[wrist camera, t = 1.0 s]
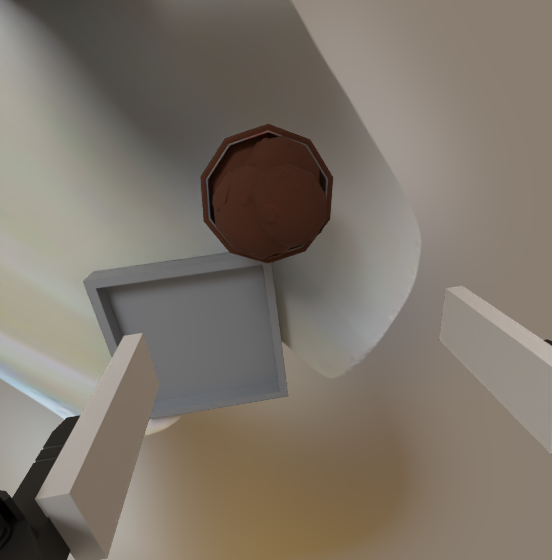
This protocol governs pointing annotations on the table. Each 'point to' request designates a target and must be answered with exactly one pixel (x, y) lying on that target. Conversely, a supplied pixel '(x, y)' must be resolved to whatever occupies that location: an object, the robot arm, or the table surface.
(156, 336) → the tray
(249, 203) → the ice cream bowl
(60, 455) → the robot arm
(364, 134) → the table surface
